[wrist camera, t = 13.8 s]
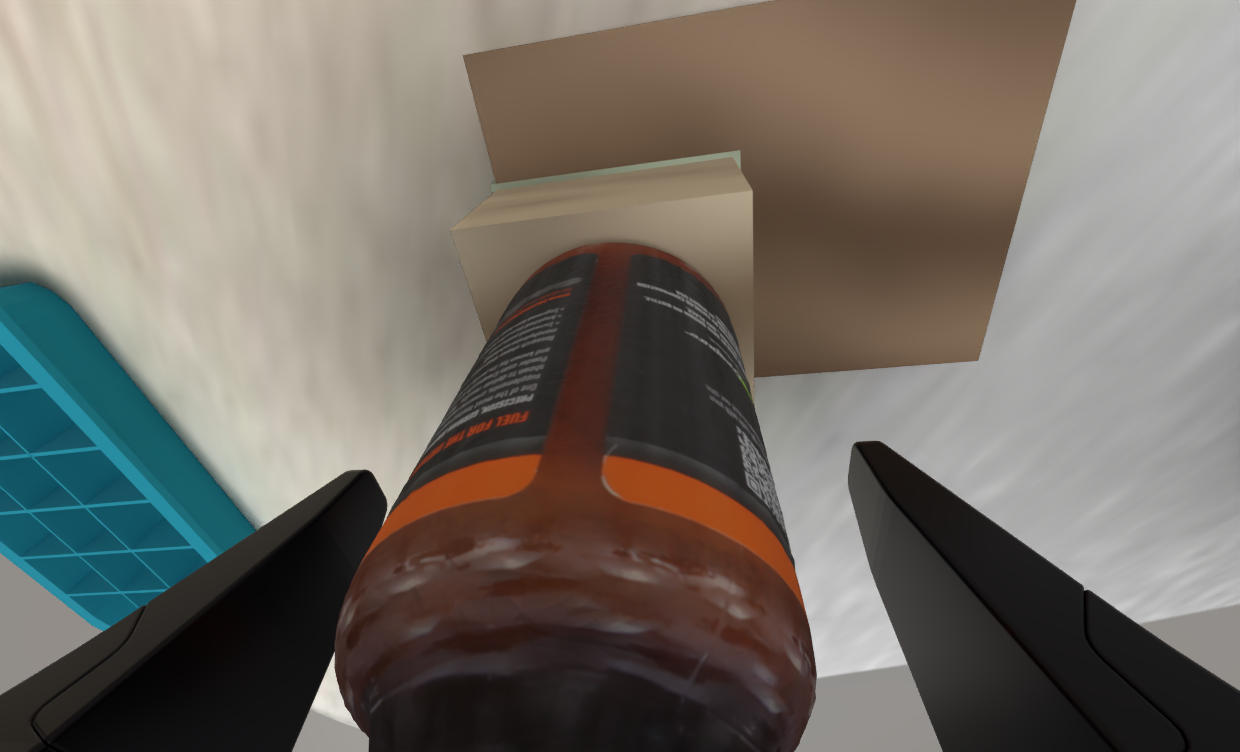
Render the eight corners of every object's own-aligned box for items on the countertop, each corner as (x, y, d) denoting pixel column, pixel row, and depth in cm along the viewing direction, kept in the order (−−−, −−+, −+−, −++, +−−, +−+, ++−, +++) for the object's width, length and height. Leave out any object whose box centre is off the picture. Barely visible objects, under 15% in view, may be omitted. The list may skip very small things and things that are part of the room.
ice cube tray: (55, 249, 19) (-38, 280, 16) (319, 583, 30) (287, 632, 27) (-173, 292, 21) (-287, 325, 18) (153, 591, 31) (108, 638, 29)
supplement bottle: (480, 383, 14) (125, 1027, 5) (557, 187, 11) (-1, 911, 2) (666, 460, 15) (667, 1114, 6) (783, 301, 12) (1164, 1132, 3)
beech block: (738, 365, 18) (754, 438, 15) (548, 381, 19) (523, 453, 16) (732, 156, 14) (752, 190, 11) (497, 189, 15) (450, 229, 12)
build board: (966, 348, 18) (978, 360, 17) (549, 381, 20) (545, 393, 19) (1067, -50, 12) (1091, -56, 11) (465, 56, 14) (455, 56, 14)
